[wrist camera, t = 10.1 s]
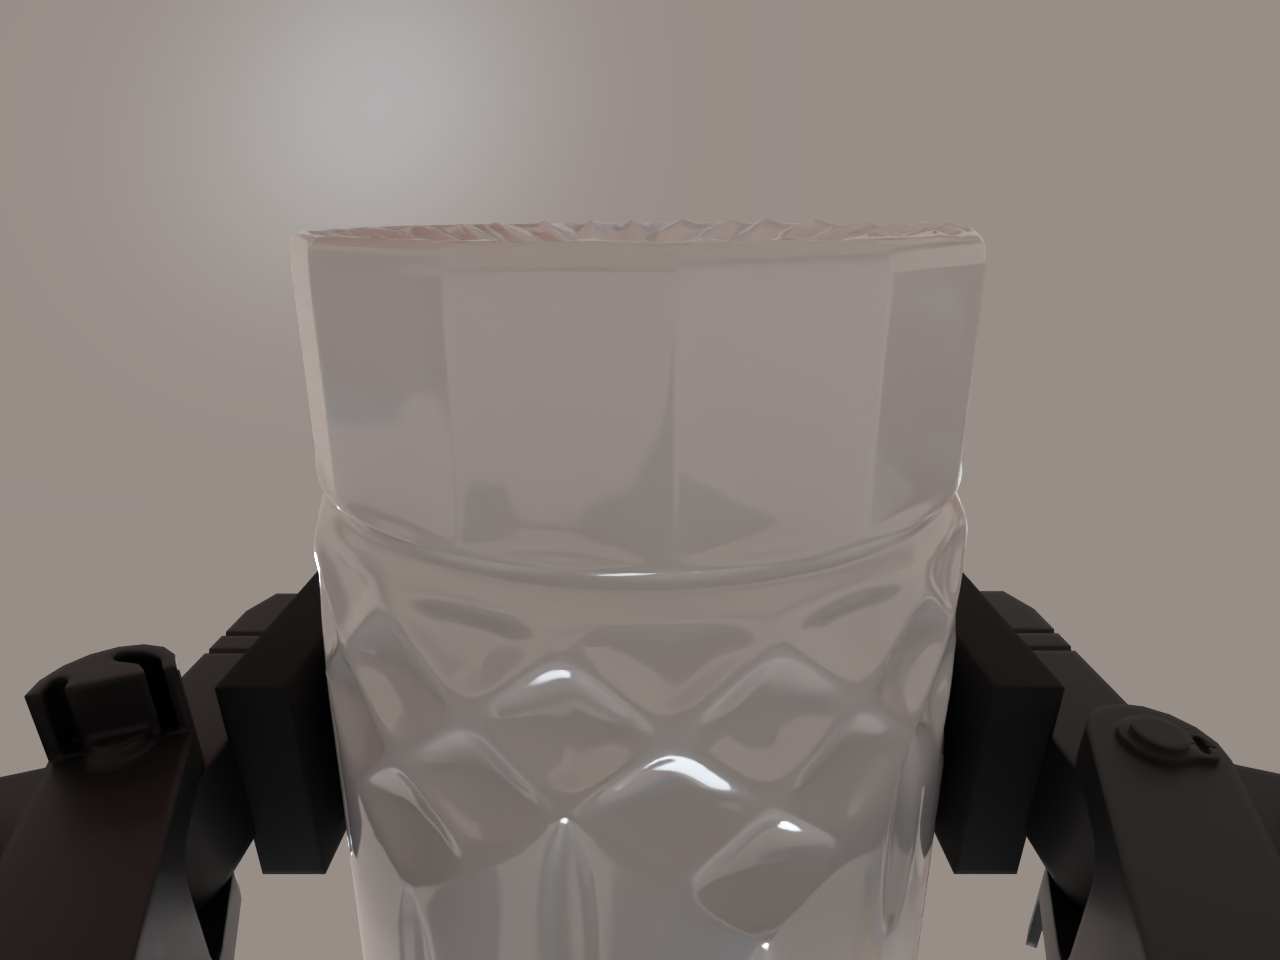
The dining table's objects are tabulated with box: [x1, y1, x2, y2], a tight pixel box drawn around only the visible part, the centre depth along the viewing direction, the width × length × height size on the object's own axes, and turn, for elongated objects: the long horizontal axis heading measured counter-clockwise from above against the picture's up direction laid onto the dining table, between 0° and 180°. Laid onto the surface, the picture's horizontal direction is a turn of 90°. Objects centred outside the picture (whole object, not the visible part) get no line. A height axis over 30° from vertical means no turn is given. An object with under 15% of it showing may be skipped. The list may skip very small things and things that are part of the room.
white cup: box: [290, 218, 987, 960], centre depth 9 cm, size 8×8×10 cm
